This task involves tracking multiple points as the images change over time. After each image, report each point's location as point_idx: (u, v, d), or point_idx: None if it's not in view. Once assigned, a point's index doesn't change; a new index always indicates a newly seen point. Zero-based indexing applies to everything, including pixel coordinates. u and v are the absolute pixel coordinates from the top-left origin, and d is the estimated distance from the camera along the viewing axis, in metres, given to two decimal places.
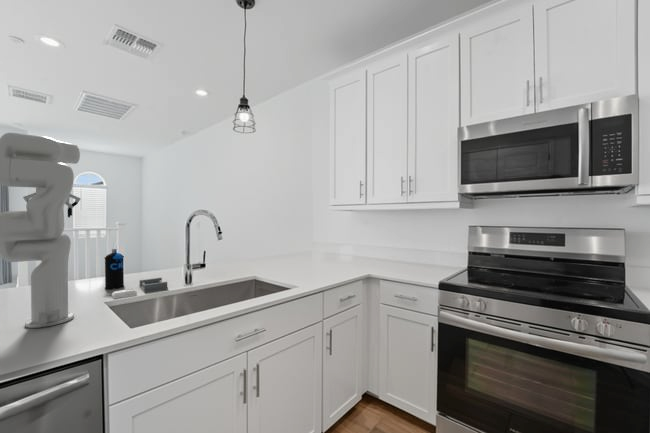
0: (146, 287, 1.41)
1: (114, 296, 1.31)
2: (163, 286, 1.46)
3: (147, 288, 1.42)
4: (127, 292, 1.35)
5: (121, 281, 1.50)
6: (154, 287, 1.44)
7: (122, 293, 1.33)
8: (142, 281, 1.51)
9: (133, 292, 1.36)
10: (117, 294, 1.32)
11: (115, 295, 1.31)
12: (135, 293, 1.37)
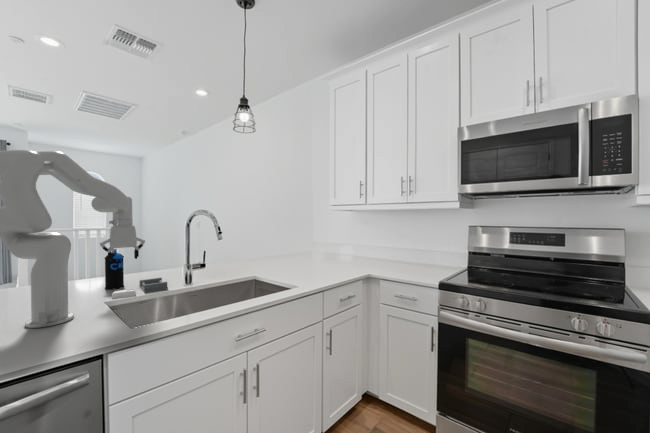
0: (146, 287, 1.41)
1: (113, 296, 1.31)
2: (163, 286, 1.46)
3: (147, 288, 1.42)
4: (126, 292, 1.34)
5: (121, 281, 1.50)
6: (154, 287, 1.44)
7: (121, 293, 1.33)
8: (142, 281, 1.51)
9: (132, 292, 1.35)
10: (116, 294, 1.32)
11: (114, 295, 1.32)
12: (134, 293, 1.36)
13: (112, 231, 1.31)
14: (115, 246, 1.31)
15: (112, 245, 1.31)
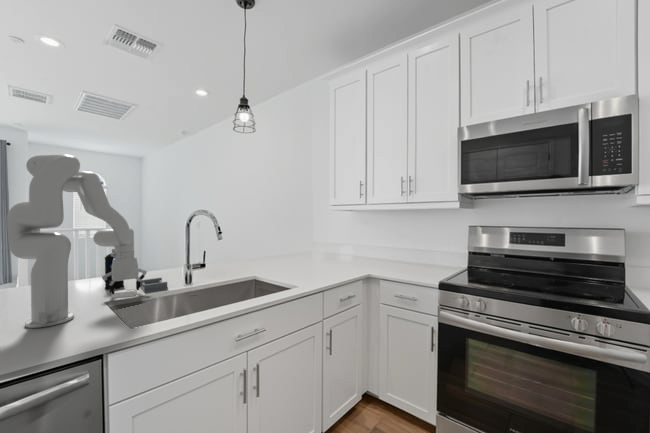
0: (146, 287, 1.41)
1: (112, 296, 1.32)
2: (163, 286, 1.46)
3: (147, 288, 1.42)
4: (125, 292, 1.34)
5: (121, 281, 1.50)
6: (154, 287, 1.44)
7: (120, 293, 1.34)
8: (142, 281, 1.51)
9: (131, 293, 1.35)
10: (115, 294, 1.33)
11: (113, 295, 1.32)
12: (133, 294, 1.35)
13: (114, 264, 1.31)
14: (117, 279, 1.32)
15: (114, 278, 1.31)
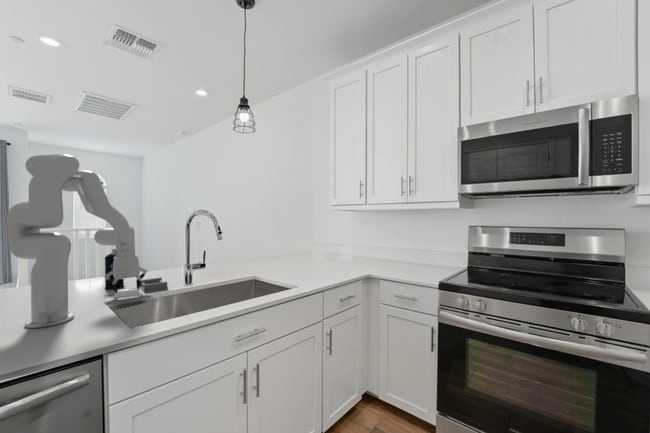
0: (146, 287, 1.41)
1: (116, 294, 1.33)
2: (163, 286, 1.46)
3: (147, 288, 1.42)
4: (129, 291, 1.36)
5: (121, 281, 1.50)
6: (154, 287, 1.44)
7: (124, 292, 1.35)
8: (142, 281, 1.51)
9: (134, 291, 1.37)
10: (119, 292, 1.34)
11: (117, 293, 1.33)
12: (137, 292, 1.37)
13: (115, 263, 1.32)
14: (118, 277, 1.33)
15: (115, 276, 1.32)
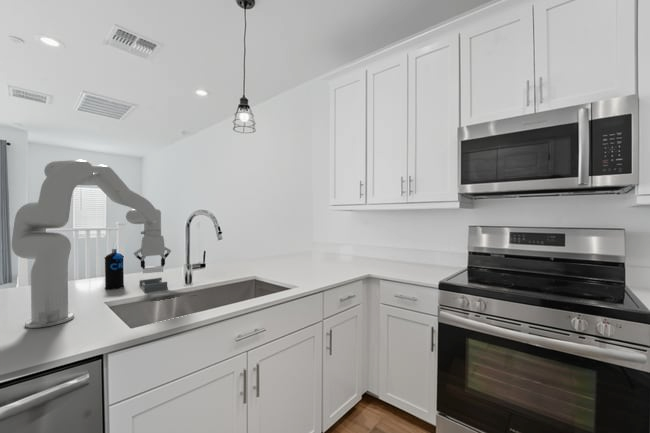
0: (146, 287, 1.41)
1: (143, 270, 1.45)
2: (163, 286, 1.46)
3: (147, 288, 1.42)
4: (155, 268, 1.48)
5: (121, 281, 1.50)
6: (154, 287, 1.44)
7: (150, 268, 1.47)
8: (142, 281, 1.51)
9: (160, 268, 1.49)
10: (146, 269, 1.46)
11: (144, 269, 1.45)
12: (162, 269, 1.49)
13: (144, 241, 1.45)
14: (146, 254, 1.45)
15: (144, 253, 1.44)
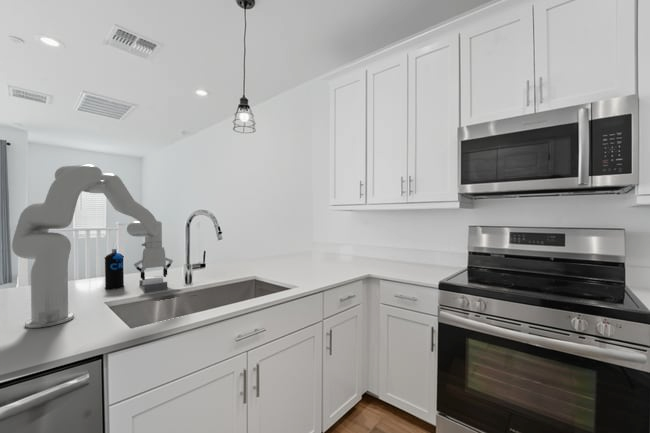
0: (146, 287, 1.41)
1: (143, 281, 1.45)
2: (163, 286, 1.46)
3: (147, 288, 1.42)
4: (155, 279, 1.48)
5: (121, 281, 1.50)
6: (154, 287, 1.44)
7: (150, 279, 1.47)
8: (142, 281, 1.51)
9: (160, 279, 1.49)
10: (146, 280, 1.46)
11: (144, 281, 1.45)
12: (162, 280, 1.49)
13: (145, 253, 1.45)
14: (147, 266, 1.45)
15: (145, 265, 1.45)
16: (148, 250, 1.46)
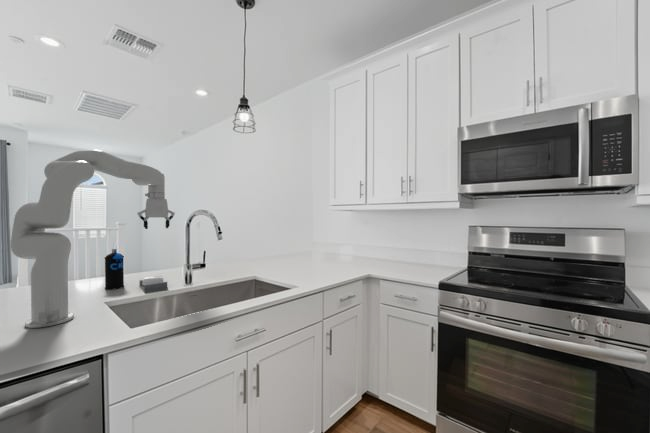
0: (146, 287, 1.41)
1: (143, 281, 1.45)
2: (163, 286, 1.46)
3: (147, 288, 1.42)
4: (155, 279, 1.48)
5: (121, 281, 1.50)
6: (154, 287, 1.44)
7: (150, 279, 1.47)
8: (142, 281, 1.51)
9: (160, 279, 1.49)
10: (146, 280, 1.46)
11: (144, 281, 1.45)
12: (162, 280, 1.49)
13: (148, 202, 1.50)
14: (150, 215, 1.50)
15: (148, 214, 1.49)
16: (151, 200, 1.50)
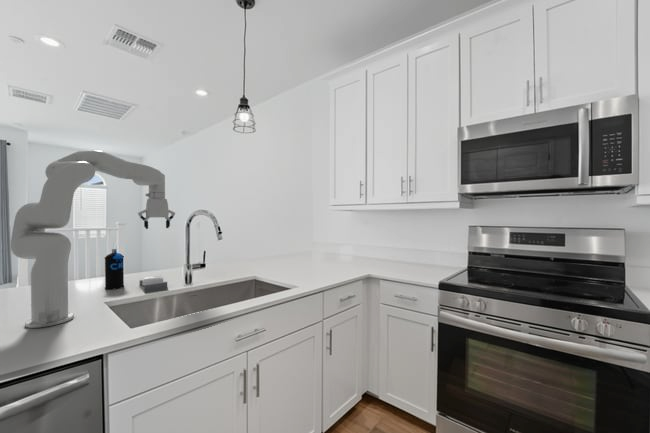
0: (146, 287, 1.41)
1: (143, 281, 1.45)
2: (163, 286, 1.46)
3: (147, 288, 1.42)
4: (155, 279, 1.48)
5: (121, 281, 1.50)
6: (154, 287, 1.44)
7: (150, 279, 1.47)
8: (142, 281, 1.51)
9: (160, 279, 1.49)
10: (146, 280, 1.46)
11: (144, 281, 1.45)
12: (162, 280, 1.49)
13: (148, 202, 1.50)
14: (151, 215, 1.50)
15: (148, 214, 1.50)
16: (152, 200, 1.51)
